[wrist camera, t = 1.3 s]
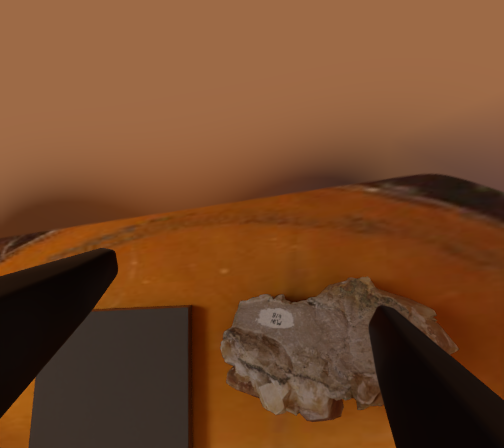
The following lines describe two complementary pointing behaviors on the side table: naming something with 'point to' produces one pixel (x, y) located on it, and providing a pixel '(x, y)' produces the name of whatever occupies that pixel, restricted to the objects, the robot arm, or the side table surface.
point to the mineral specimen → (315, 348)
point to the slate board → (119, 383)
